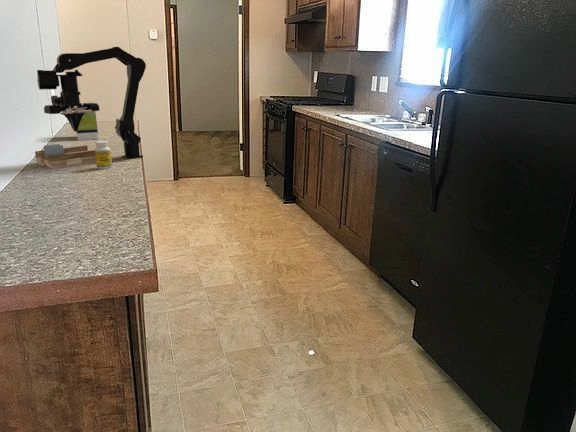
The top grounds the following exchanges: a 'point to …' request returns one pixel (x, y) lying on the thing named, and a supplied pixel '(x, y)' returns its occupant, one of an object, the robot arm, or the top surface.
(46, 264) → the top surface
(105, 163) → the supplement bottle
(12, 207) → the top surface
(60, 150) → the block
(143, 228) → the top surface
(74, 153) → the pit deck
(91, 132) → the tea box
